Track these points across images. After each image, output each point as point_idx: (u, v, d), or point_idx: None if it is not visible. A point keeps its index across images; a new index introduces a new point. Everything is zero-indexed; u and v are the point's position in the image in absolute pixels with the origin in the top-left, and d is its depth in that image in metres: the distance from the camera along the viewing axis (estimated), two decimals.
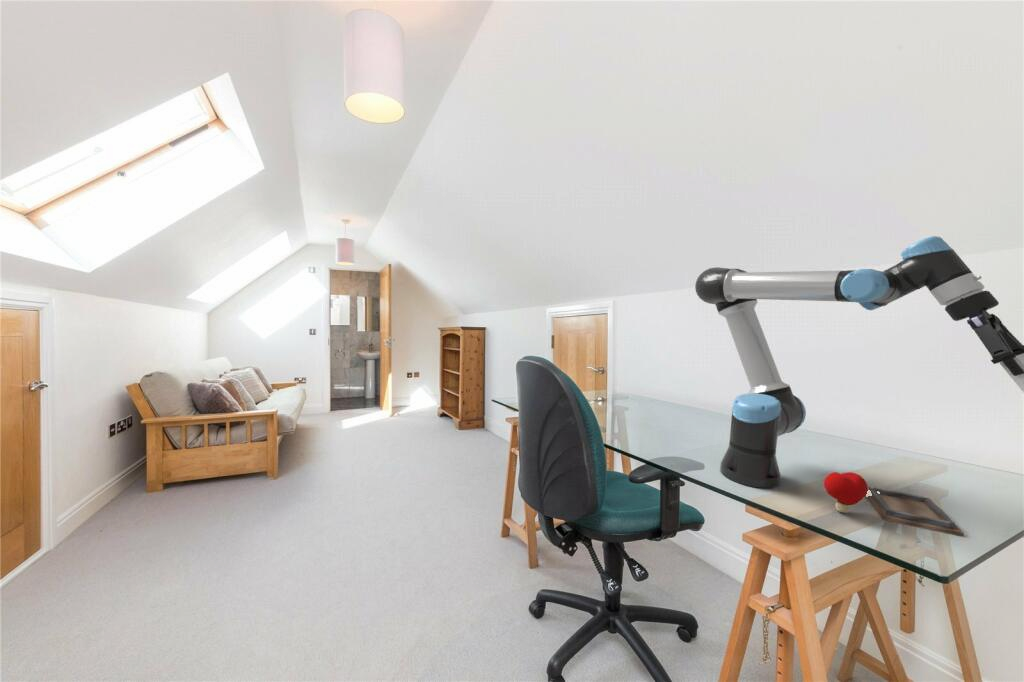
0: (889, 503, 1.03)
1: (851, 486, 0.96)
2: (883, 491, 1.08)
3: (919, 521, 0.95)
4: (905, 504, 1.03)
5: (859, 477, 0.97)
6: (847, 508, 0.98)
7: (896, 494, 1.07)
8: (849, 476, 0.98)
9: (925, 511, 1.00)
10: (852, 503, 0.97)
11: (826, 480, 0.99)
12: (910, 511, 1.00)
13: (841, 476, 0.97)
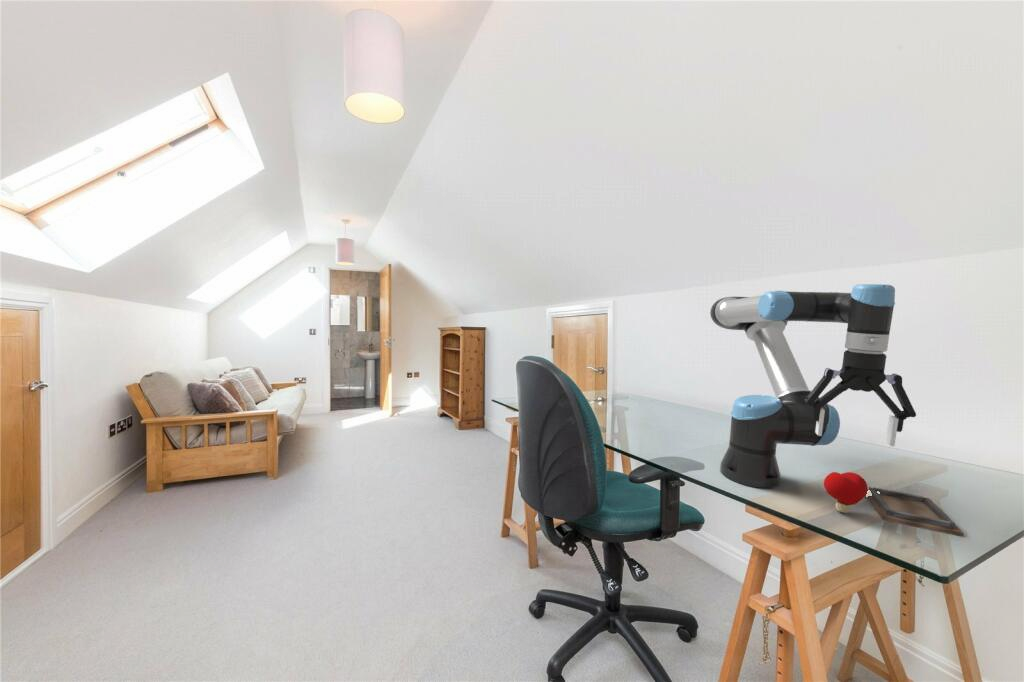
0: (889, 503, 1.03)
1: (851, 486, 0.96)
2: (883, 491, 1.08)
3: (919, 521, 0.95)
4: (905, 504, 1.03)
5: (859, 477, 0.97)
6: (847, 508, 0.98)
7: (896, 494, 1.07)
8: (849, 476, 0.98)
9: (925, 511, 1.00)
10: (852, 503, 0.97)
11: (826, 480, 0.99)
12: (910, 511, 1.00)
13: (841, 476, 0.97)
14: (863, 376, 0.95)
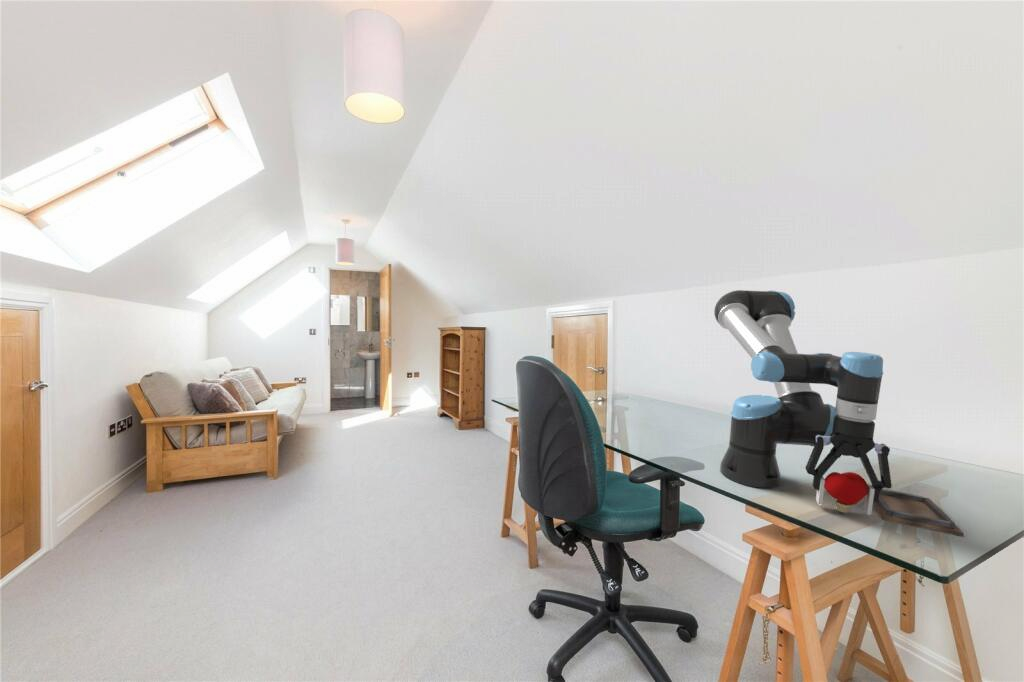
0: (889, 503, 1.03)
1: (851, 486, 0.96)
2: (883, 491, 1.08)
3: (919, 521, 0.95)
4: (905, 504, 1.03)
5: (859, 477, 0.97)
6: (847, 508, 0.98)
7: (896, 494, 1.07)
8: (849, 476, 0.98)
9: (925, 511, 1.00)
10: (852, 503, 0.97)
11: (826, 480, 0.99)
12: (910, 511, 1.00)
13: (841, 476, 0.97)
14: (853, 439, 0.96)
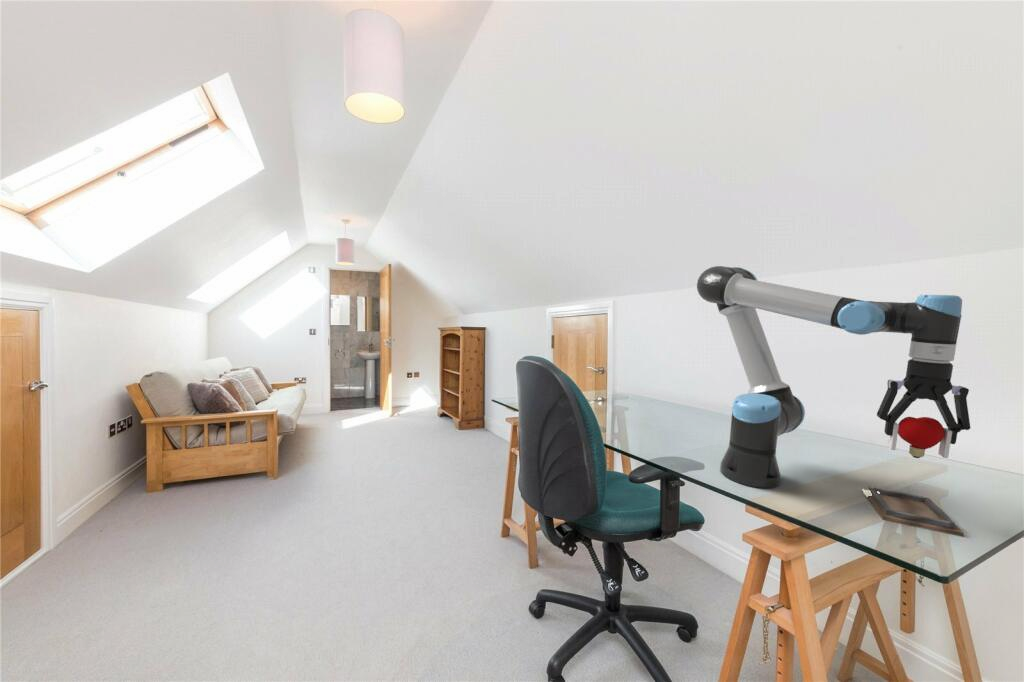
0: (889, 503, 1.03)
1: (928, 429, 0.95)
2: (883, 491, 1.08)
3: (919, 521, 0.95)
4: (905, 504, 1.03)
5: (935, 420, 0.97)
6: (922, 452, 0.98)
7: (896, 494, 1.07)
8: (924, 420, 0.98)
9: (925, 511, 1.00)
10: (929, 446, 0.96)
11: (900, 424, 0.99)
12: (910, 511, 1.00)
13: (917, 419, 0.97)
14: (929, 382, 0.96)
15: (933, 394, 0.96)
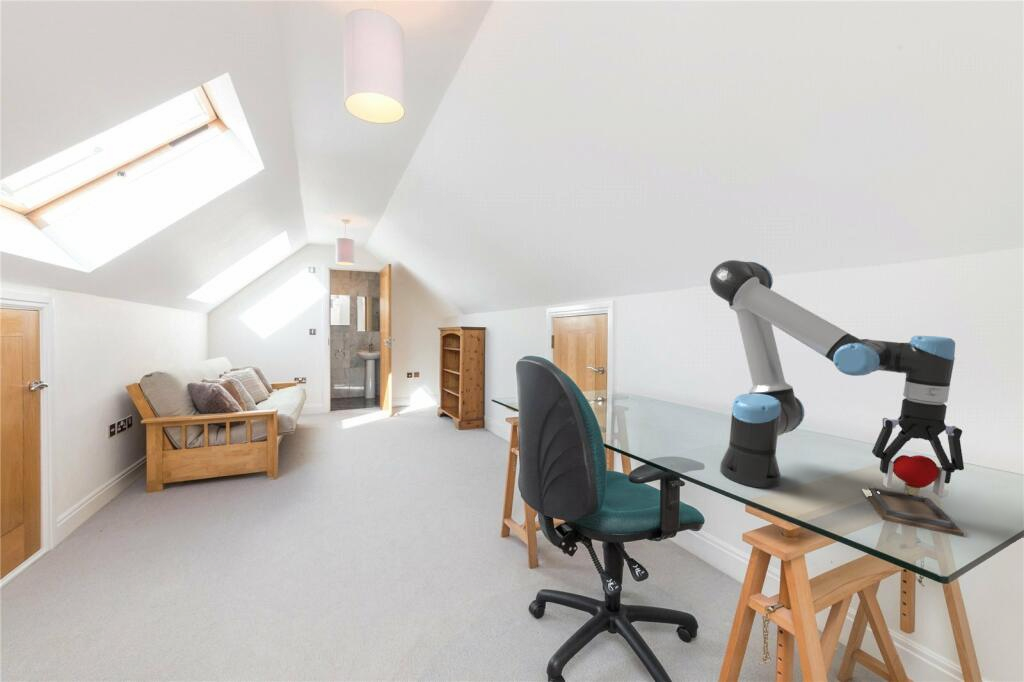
0: (889, 503, 1.03)
1: (922, 469, 0.97)
2: (883, 491, 1.08)
3: (919, 521, 0.95)
4: (905, 504, 1.03)
5: (930, 460, 0.98)
6: (917, 491, 0.99)
7: (896, 494, 1.07)
8: (919, 459, 0.99)
9: (925, 511, 1.00)
10: (923, 485, 0.97)
11: (895, 463, 1.00)
12: (910, 511, 1.00)
13: (912, 459, 0.98)
14: (924, 422, 0.97)
15: (927, 434, 0.97)
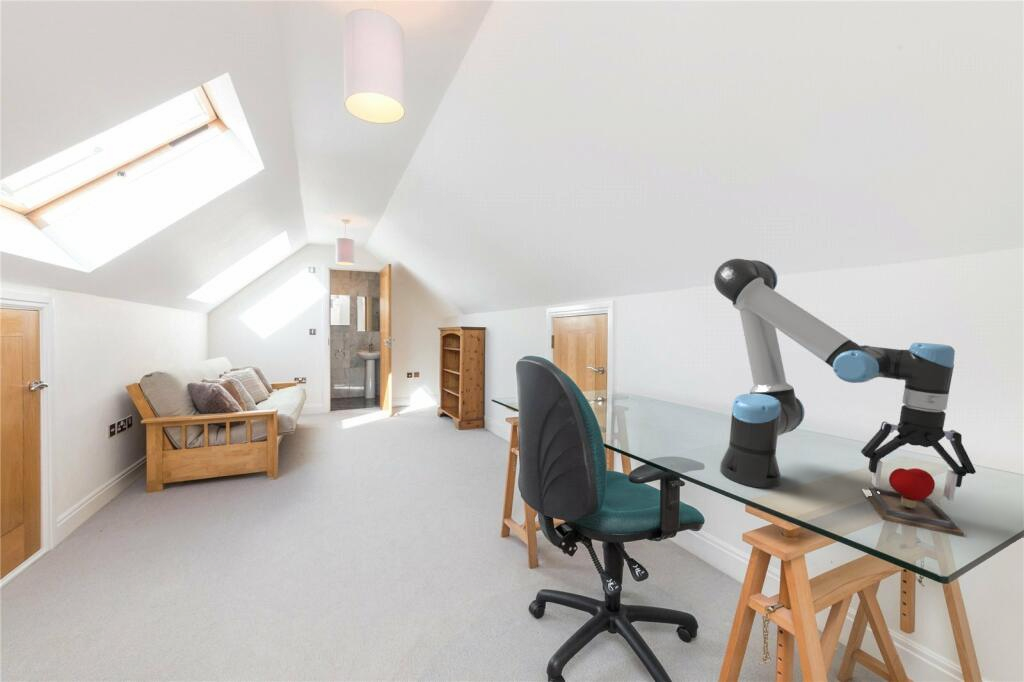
0: (889, 503, 1.03)
1: (919, 482, 0.97)
2: (883, 491, 1.08)
3: (919, 521, 0.95)
4: None
5: (926, 473, 0.99)
6: (914, 504, 1.00)
7: (896, 494, 1.07)
8: (915, 472, 1.00)
9: (925, 511, 1.00)
10: (920, 499, 0.98)
11: (892, 476, 1.01)
12: (910, 511, 1.00)
13: (908, 472, 0.99)
14: (922, 432, 0.98)
15: (928, 441, 0.97)
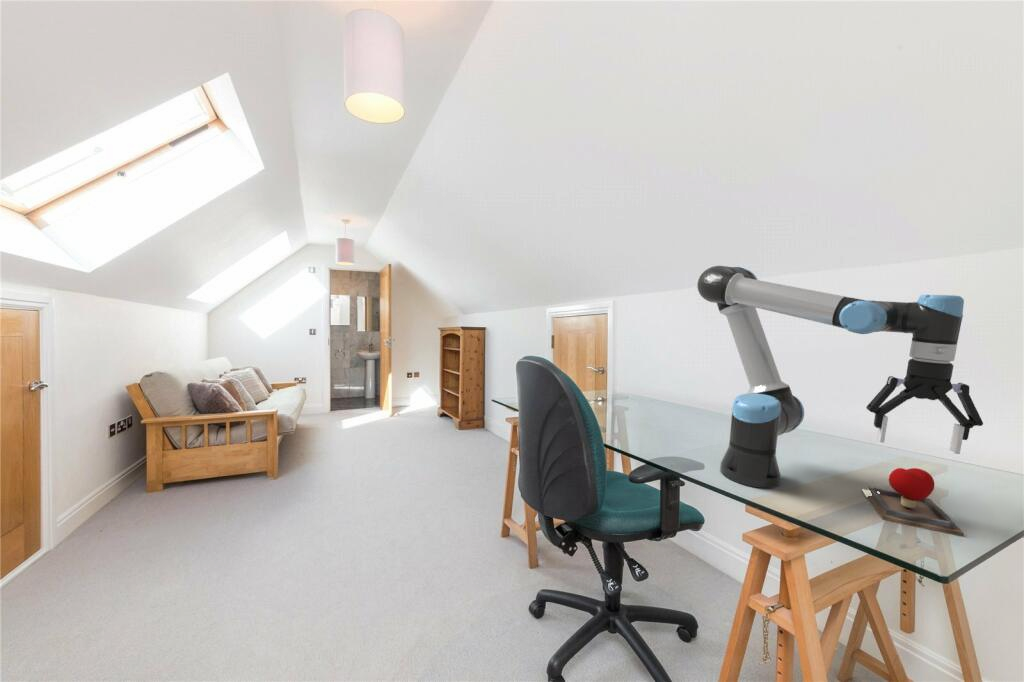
0: (889, 503, 1.03)
1: (918, 482, 0.97)
2: (883, 491, 1.08)
3: (919, 521, 0.95)
4: None
5: (926, 473, 0.99)
6: (914, 504, 1.00)
7: (896, 494, 1.07)
8: (915, 472, 1.00)
9: (925, 511, 1.00)
10: (920, 498, 0.98)
11: (892, 476, 1.01)
12: (910, 511, 1.00)
13: (908, 472, 0.99)
14: (929, 385, 0.96)
15: (935, 394, 0.96)
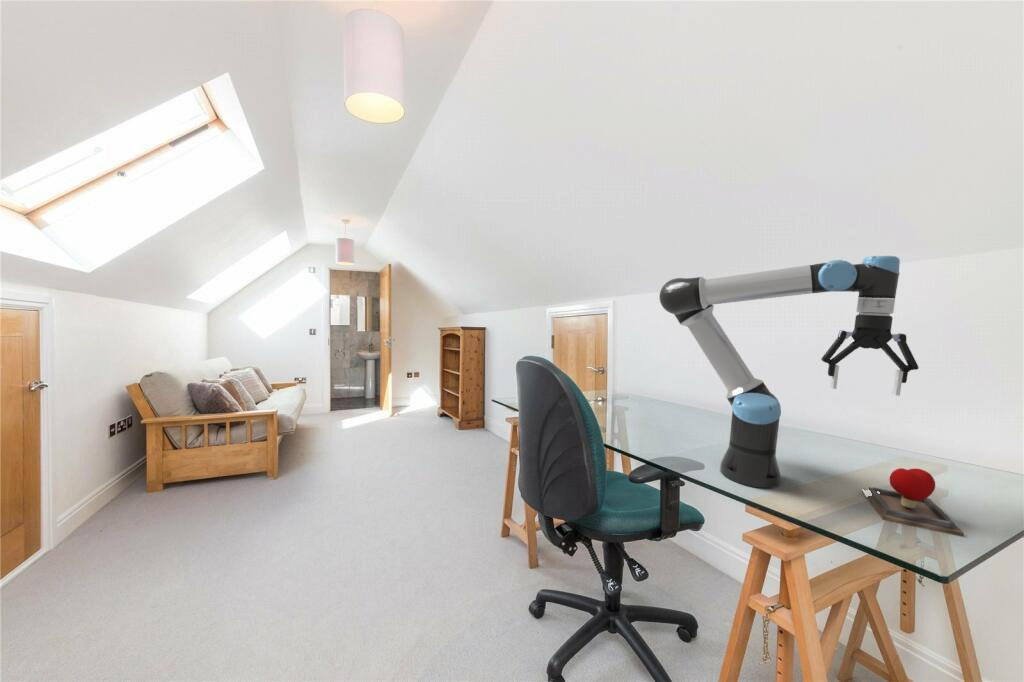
0: (889, 503, 1.03)
1: (919, 482, 0.97)
2: (883, 491, 1.08)
3: (919, 521, 0.95)
4: None
5: (927, 473, 0.99)
6: (914, 504, 1.00)
7: (896, 494, 1.07)
8: (916, 472, 1.00)
9: (925, 511, 1.00)
10: (920, 499, 0.98)
11: (893, 476, 1.01)
12: (910, 511, 1.00)
13: (909, 472, 0.99)
14: (872, 335, 1.10)
15: (878, 344, 1.10)
